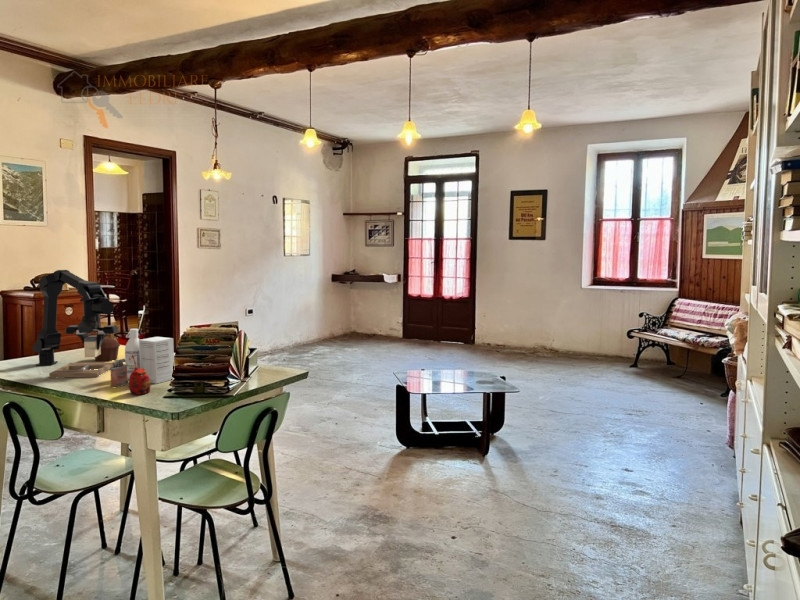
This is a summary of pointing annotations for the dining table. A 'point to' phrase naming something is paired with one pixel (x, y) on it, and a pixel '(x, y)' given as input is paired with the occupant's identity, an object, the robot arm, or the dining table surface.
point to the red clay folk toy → (139, 380)
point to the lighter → (119, 373)
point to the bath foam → (132, 348)
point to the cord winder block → (91, 346)
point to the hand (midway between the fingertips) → (92, 349)
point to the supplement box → (157, 358)
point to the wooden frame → (81, 370)
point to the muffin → (108, 350)
